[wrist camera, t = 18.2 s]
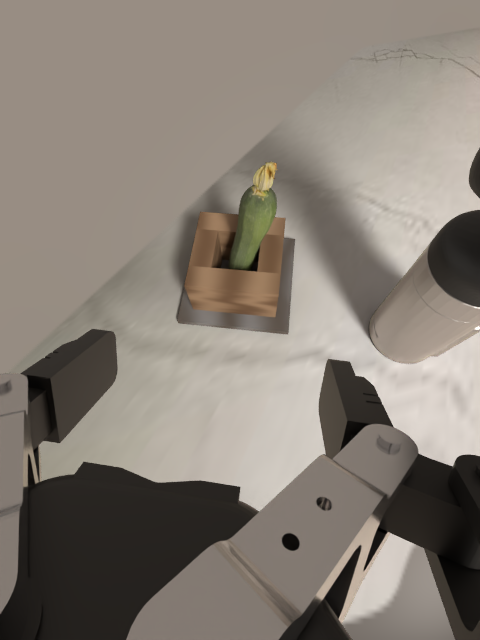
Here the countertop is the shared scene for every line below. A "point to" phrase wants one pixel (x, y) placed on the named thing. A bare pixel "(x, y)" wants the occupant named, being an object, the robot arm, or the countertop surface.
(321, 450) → the countertop surface
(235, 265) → the vegetable
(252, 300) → the holder
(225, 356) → the countertop surface
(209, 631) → the robot arm
